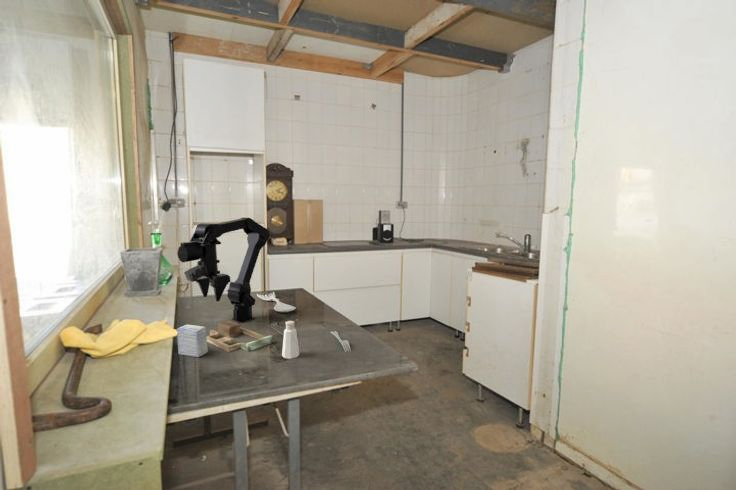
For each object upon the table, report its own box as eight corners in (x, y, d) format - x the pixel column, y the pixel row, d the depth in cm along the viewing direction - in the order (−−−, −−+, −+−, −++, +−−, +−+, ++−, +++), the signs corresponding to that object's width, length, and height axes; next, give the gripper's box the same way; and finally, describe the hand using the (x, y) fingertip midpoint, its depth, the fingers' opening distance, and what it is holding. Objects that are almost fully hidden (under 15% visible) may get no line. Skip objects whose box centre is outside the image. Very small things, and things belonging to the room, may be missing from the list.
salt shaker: (291, 360, 119) (290, 325, 117) (278, 356, 121) (277, 322, 120) (302, 354, 123) (302, 320, 122) (290, 350, 126) (289, 318, 125)
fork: (336, 337, 145) (336, 330, 145) (352, 352, 126) (352, 344, 125) (329, 338, 144) (329, 331, 144) (344, 353, 125) (344, 345, 125)
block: (229, 331, 145) (229, 320, 144) (240, 335, 140) (240, 324, 140) (218, 334, 141) (217, 323, 141) (229, 338, 137) (229, 327, 136)
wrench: (275, 323, 154) (275, 321, 153) (298, 338, 138) (298, 335, 137) (264, 326, 151) (264, 323, 151) (285, 341, 135) (285, 338, 135)
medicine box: (208, 352, 124) (206, 326, 123) (197, 358, 120) (196, 331, 119) (188, 349, 127) (187, 323, 126) (177, 354, 122) (176, 328, 121)
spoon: (273, 297, 194) (273, 290, 193) (299, 313, 167) (299, 305, 167) (256, 299, 189) (255, 292, 188) (279, 316, 162) (279, 308, 162)
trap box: (233, 327, 148) (233, 321, 147) (272, 342, 132) (272, 335, 132) (198, 337, 137) (198, 330, 137) (236, 355, 122) (236, 347, 122)
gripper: (174, 258, 141) (178, 299, 144) (199, 264, 129) (202, 309, 132) (203, 254, 150) (206, 293, 152) (229, 259, 138) (232, 301, 140)
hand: (211, 299), depth 144 cm, fingers open, 9 cm apart
